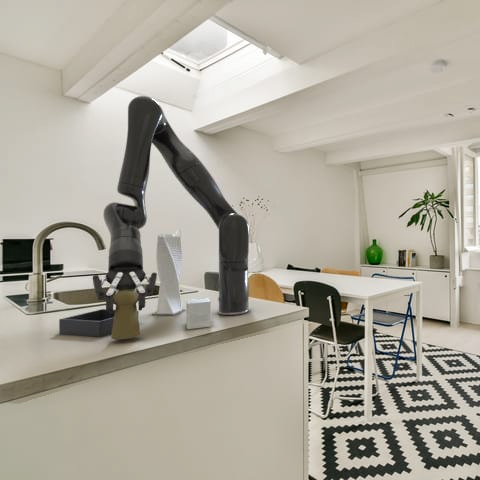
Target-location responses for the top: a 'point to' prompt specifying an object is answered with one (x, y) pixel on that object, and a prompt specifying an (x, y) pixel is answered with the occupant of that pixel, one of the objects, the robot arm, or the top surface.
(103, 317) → the basket
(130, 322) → the cork
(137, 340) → the top surface
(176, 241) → the skyscraper
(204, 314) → the product box
